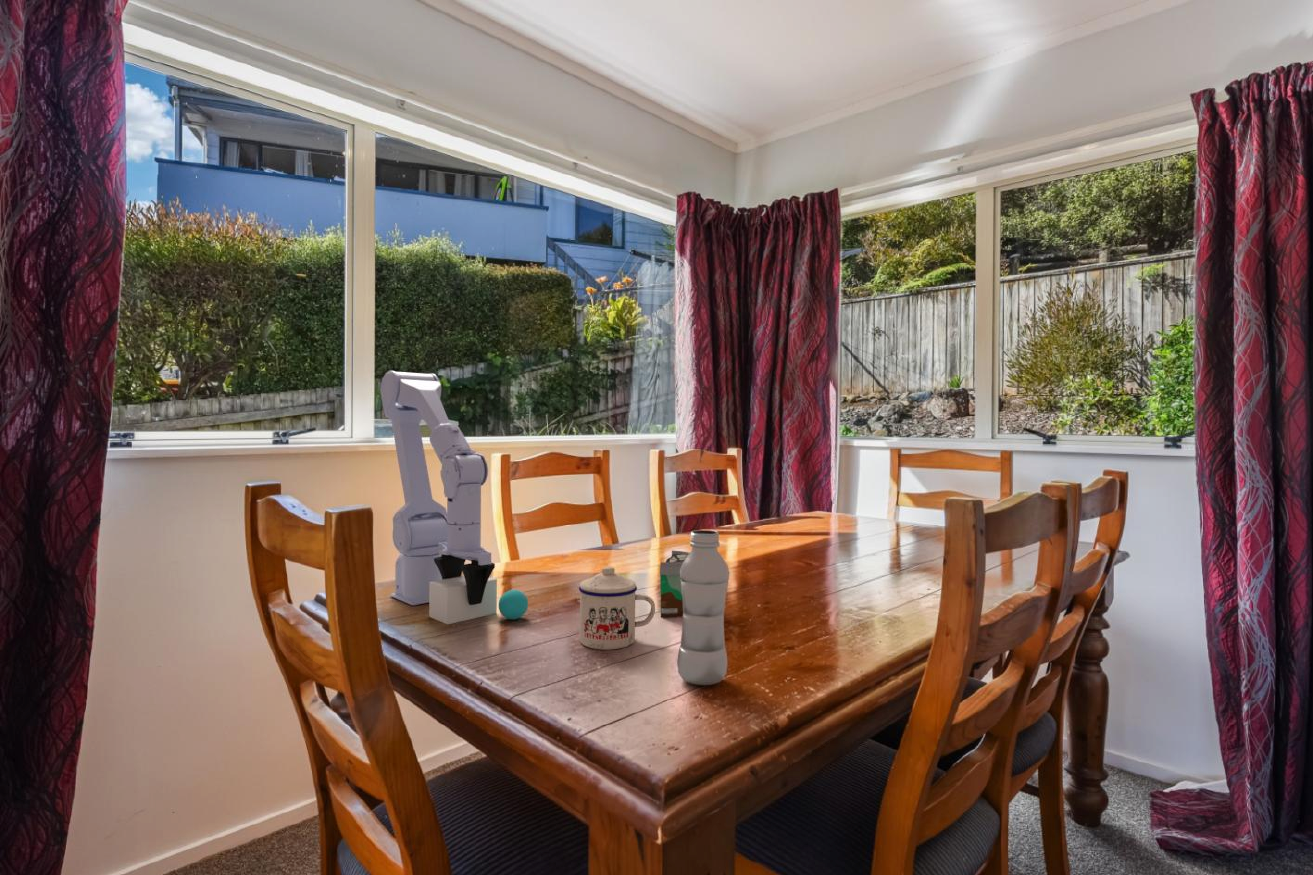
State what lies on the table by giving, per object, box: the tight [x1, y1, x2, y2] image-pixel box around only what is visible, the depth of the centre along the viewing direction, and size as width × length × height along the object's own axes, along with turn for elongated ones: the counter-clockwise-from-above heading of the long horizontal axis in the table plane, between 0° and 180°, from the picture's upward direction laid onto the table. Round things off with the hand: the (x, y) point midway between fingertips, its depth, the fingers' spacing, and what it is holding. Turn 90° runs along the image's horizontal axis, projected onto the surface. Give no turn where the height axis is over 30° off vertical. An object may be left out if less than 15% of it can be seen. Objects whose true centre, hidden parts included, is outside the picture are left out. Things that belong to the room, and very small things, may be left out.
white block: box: [428, 575, 498, 625], centre depth 117 cm, size 6×10×6 cm, turn 136°
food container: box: [659, 550, 690, 619], centre depth 122 cm, size 12×6×10 cm, turn 168°
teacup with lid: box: [578, 566, 656, 651], centre depth 104 cm, size 12×9×12 cm
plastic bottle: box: [676, 529, 730, 686], centre depth 88 cm, size 6×7×20 cm
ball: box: [498, 589, 529, 620], centre depth 115 cm, size 5×5×5 cm
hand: (463, 599), depth 117 cm, fingers open, 7 cm apart
